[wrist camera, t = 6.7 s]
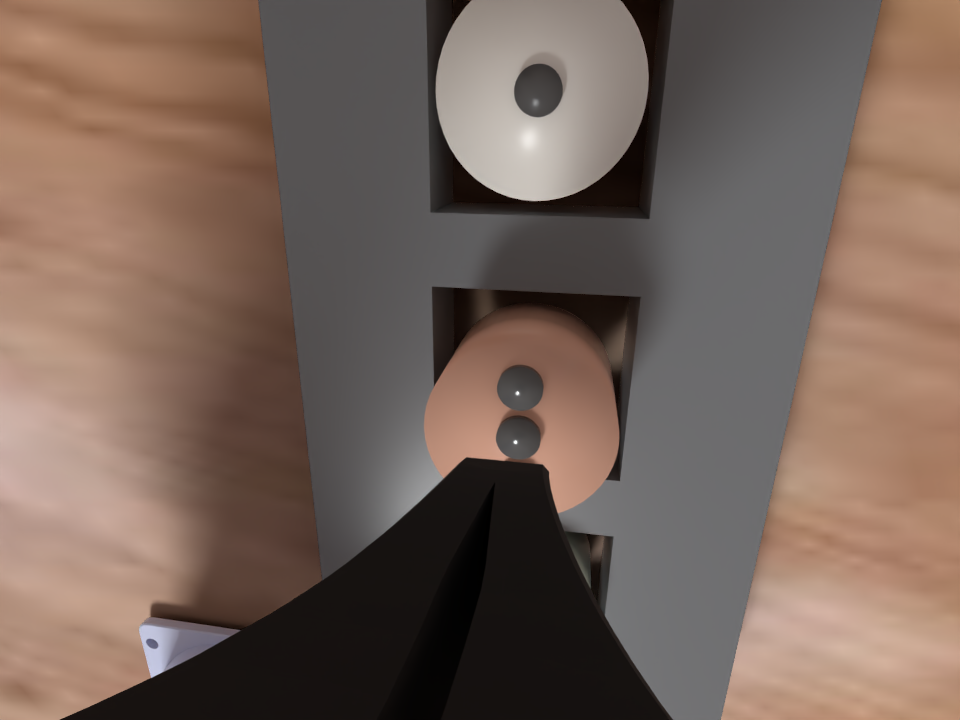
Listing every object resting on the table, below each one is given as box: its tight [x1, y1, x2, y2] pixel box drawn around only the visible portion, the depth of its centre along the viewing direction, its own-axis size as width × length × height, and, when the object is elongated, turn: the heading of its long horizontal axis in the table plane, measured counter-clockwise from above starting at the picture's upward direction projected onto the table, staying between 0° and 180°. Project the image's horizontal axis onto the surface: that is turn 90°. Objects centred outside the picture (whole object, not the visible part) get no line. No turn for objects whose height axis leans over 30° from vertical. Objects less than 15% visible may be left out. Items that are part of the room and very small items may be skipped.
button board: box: [258, 0, 882, 720], centre depth 15 cm, size 22×12×2 cm, turn 179°
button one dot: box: [436, 0, 649, 201], centre depth 12 cm, size 4×4×3 cm
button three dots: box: [424, 303, 619, 513], centre depth 13 cm, size 4×4×3 cm
